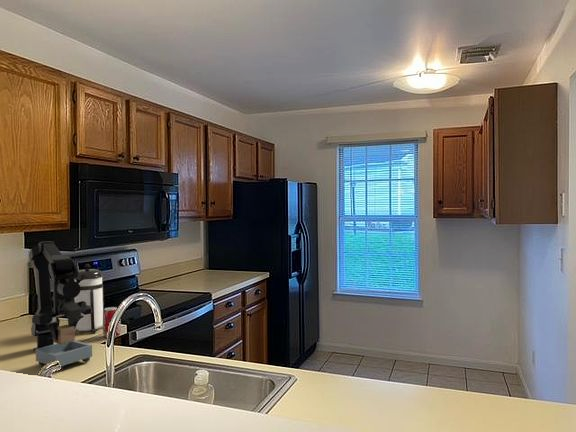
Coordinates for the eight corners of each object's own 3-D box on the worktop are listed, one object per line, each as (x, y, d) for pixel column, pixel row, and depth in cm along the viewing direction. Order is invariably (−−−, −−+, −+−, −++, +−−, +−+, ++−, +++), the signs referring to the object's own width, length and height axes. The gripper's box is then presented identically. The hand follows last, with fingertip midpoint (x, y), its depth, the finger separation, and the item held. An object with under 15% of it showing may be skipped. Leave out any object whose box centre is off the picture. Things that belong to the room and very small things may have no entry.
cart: (36, 365, 155) (35, 349, 155) (72, 355, 166) (71, 339, 165) (56, 373, 147) (55, 355, 147) (92, 361, 158) (92, 345, 158)
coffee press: (113, 331, 198) (111, 263, 197) (73, 337, 189) (71, 267, 188) (104, 323, 212) (102, 260, 212) (67, 328, 203) (65, 263, 203)
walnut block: (53, 342, 156) (52, 327, 156) (66, 338, 160) (66, 324, 160) (61, 344, 153) (60, 329, 153) (74, 340, 157) (74, 326, 157)
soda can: (114, 339, 186) (114, 310, 185) (99, 338, 187) (98, 310, 187) (124, 334, 192) (123, 306, 192) (109, 333, 194) (108, 306, 194)
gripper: (48, 301, 144) (49, 349, 144) (100, 291, 159) (101, 335, 160) (30, 298, 150) (31, 344, 150) (82, 289, 165) (83, 330, 166)
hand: (63, 338), depth 156 cm, fingers closed on walnut block, 5 cm apart
